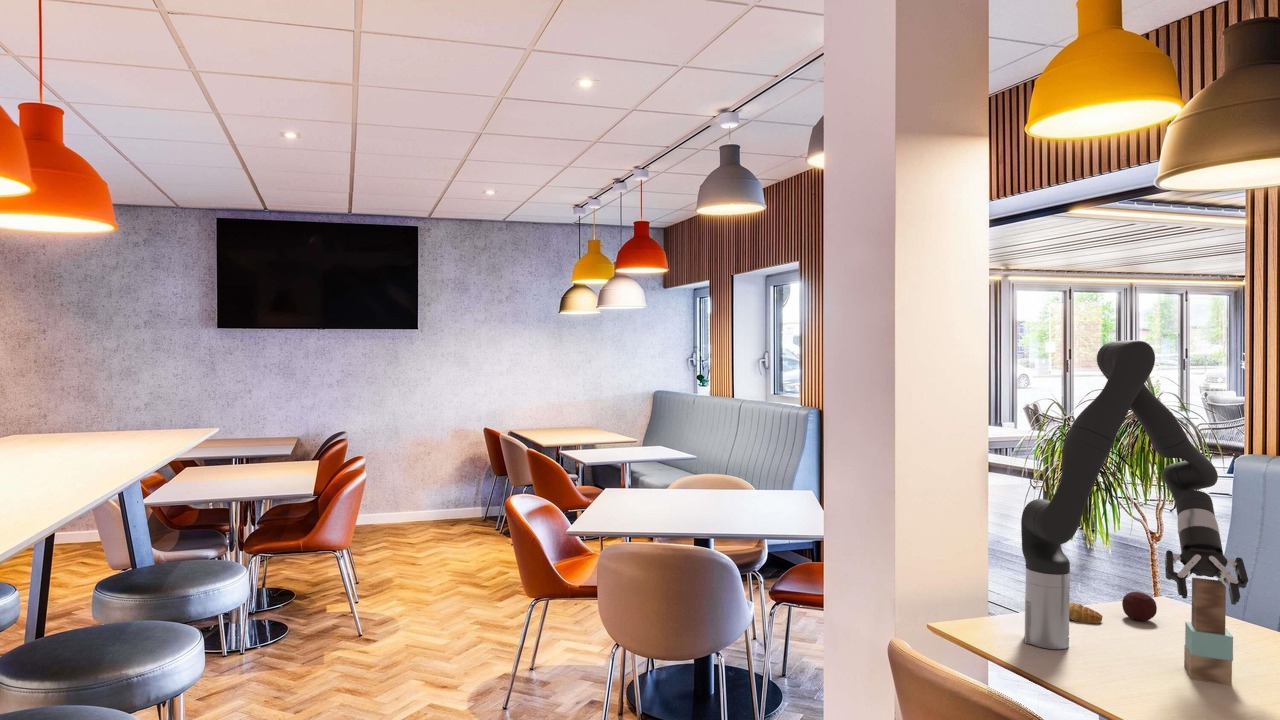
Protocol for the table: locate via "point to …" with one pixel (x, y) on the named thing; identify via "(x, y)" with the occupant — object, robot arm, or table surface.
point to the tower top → (1209, 643)
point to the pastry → (1083, 614)
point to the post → (1208, 605)
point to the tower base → (1207, 668)
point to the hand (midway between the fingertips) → (1209, 599)
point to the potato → (1139, 606)
